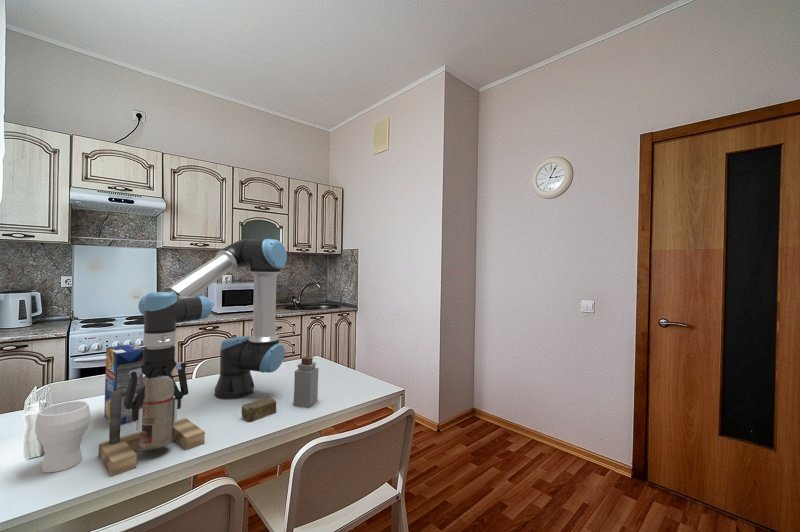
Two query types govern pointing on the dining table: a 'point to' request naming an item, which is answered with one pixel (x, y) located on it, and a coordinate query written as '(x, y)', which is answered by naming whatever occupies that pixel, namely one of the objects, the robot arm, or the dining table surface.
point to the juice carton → (121, 375)
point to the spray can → (157, 412)
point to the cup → (62, 434)
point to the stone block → (258, 409)
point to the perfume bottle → (306, 383)
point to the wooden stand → (138, 439)
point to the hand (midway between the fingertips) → (156, 425)
